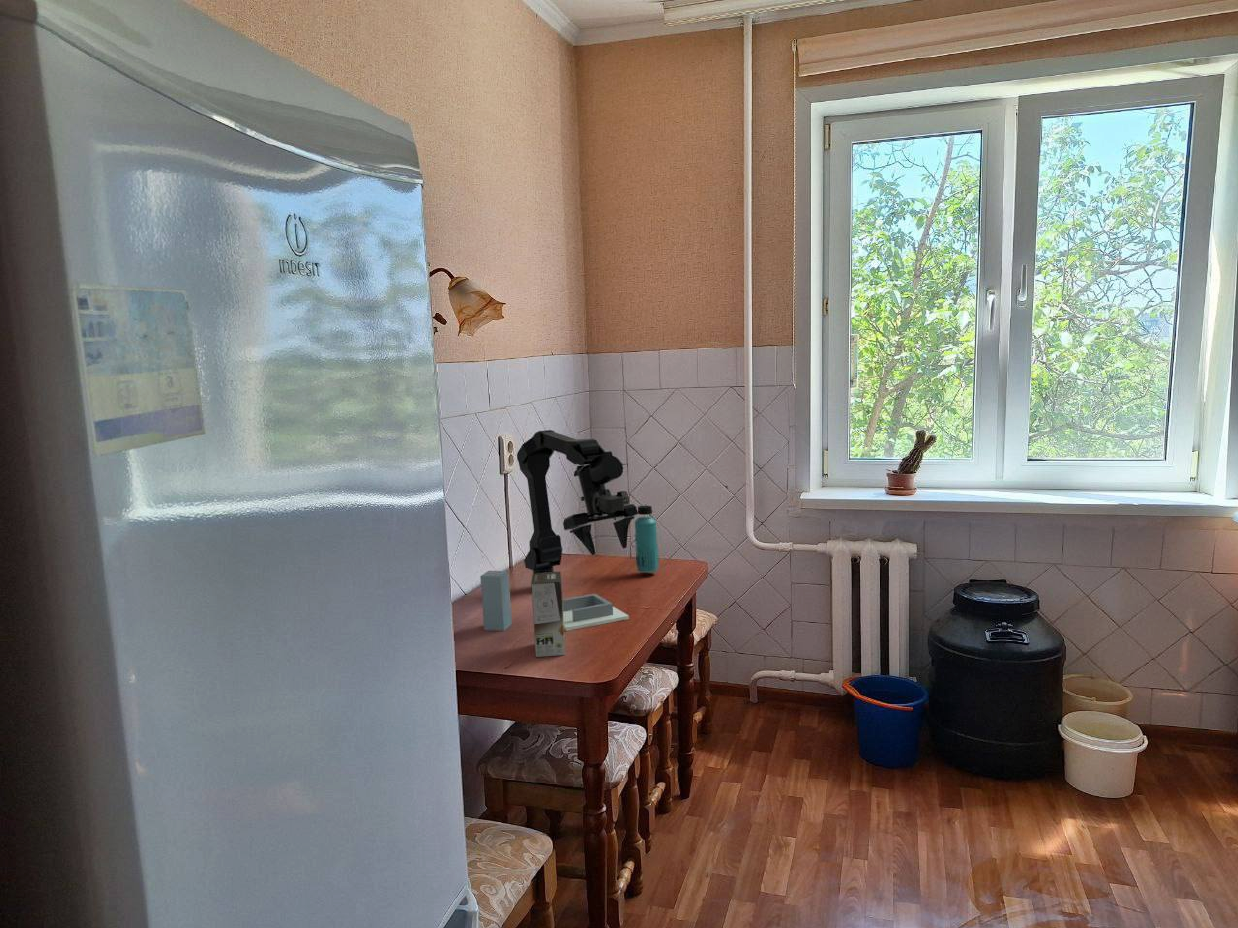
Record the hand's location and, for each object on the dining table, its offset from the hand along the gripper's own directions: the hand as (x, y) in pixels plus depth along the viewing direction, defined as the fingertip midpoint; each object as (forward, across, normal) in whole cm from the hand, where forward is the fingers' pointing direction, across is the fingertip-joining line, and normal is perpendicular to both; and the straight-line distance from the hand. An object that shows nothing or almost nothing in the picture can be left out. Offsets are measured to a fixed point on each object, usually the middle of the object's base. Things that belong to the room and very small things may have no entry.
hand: (609, 551), depth 199 cm
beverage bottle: (+7, +29, +27) cm, 40 cm away
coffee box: (+18, -24, -4) cm, 31 cm away
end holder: (+13, -6, +9) cm, 17 cm away
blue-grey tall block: (+11, -25, +16) cm, 32 cm away
